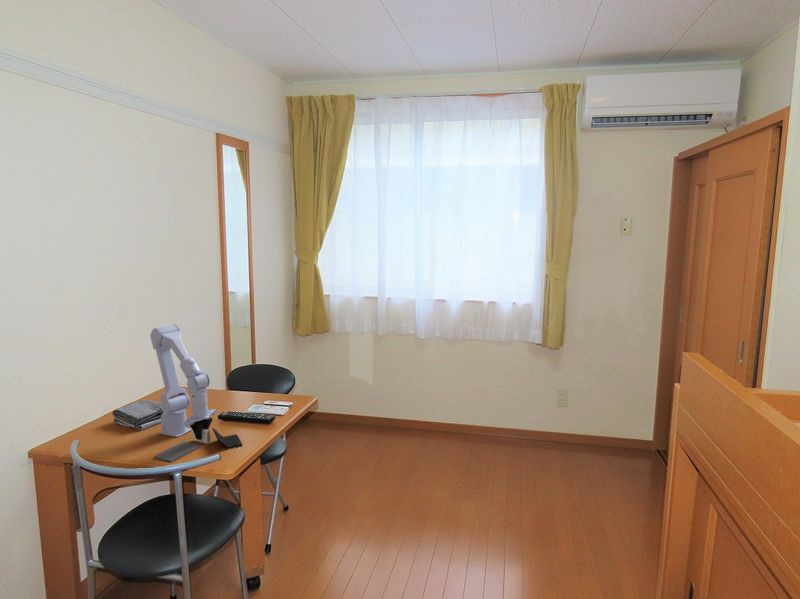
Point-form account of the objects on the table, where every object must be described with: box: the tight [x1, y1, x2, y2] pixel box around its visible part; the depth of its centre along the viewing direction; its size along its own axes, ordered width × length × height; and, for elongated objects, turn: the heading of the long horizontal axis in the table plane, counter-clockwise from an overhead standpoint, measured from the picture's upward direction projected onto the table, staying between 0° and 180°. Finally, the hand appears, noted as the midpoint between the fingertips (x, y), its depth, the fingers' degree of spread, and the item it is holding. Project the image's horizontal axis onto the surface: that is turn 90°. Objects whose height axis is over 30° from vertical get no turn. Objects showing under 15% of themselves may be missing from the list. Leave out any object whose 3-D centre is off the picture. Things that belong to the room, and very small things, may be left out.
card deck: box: [192, 428, 211, 444], centre depth 198 cm, size 7×2×5 cm, turn 67°
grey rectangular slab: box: [152, 441, 202, 463], centre depth 189 cm, size 9×14×1 cm, turn 157°
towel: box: [111, 398, 163, 431], centre depth 218 cm, size 15×18×8 cm
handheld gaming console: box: [212, 427, 243, 450], centre depth 196 cm, size 12×7×10 cm
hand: (201, 437), depth 198 cm, fingers open, 2 cm apart
